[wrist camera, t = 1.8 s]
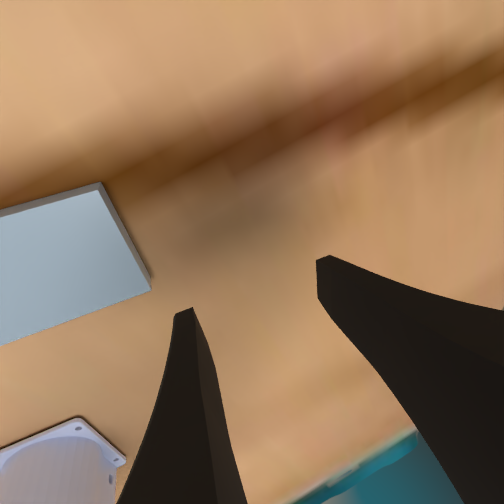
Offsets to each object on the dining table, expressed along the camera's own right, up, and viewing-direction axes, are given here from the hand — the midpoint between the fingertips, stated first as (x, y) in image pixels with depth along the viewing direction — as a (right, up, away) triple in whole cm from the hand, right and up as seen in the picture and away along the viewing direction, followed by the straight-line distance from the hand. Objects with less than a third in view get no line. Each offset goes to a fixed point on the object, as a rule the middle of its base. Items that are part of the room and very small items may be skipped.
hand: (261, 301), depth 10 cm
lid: (-14, +1, +6) cm, 15 cm away
